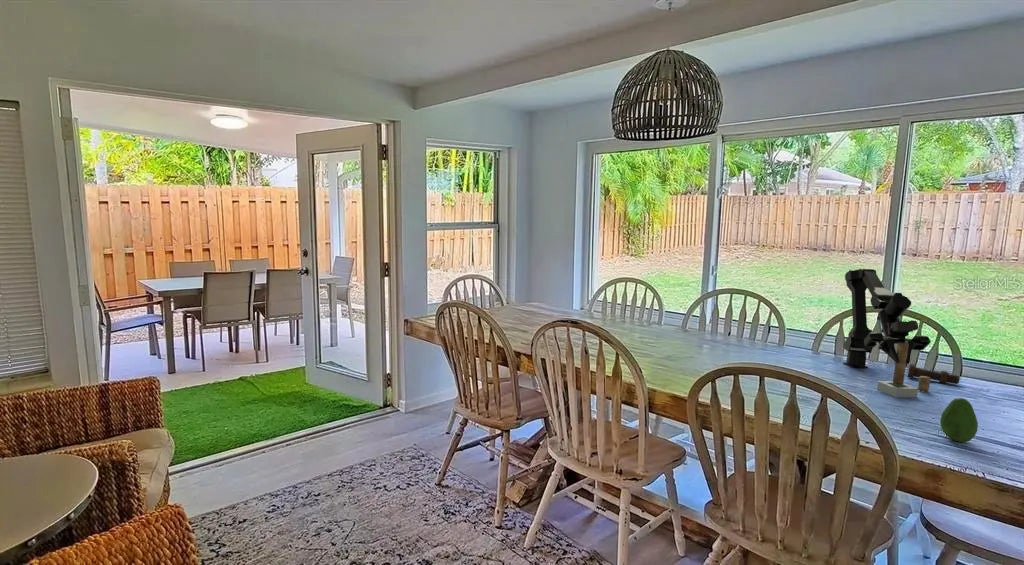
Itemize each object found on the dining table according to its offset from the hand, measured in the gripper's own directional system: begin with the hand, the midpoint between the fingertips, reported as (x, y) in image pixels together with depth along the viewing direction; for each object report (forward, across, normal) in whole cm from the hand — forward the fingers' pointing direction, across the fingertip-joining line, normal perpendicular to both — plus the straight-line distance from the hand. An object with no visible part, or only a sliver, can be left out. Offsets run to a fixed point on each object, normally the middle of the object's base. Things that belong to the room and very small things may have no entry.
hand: (902, 362), depth 186 cm
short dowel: (+3, +11, +13) cm, 17 cm away
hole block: (+7, 0, +9) cm, 11 cm away
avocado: (+35, -4, -19) cm, 40 cm away
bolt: (-6, +21, +23) cm, 32 cm away
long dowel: (+4, 0, +6) cm, 8 cm away
